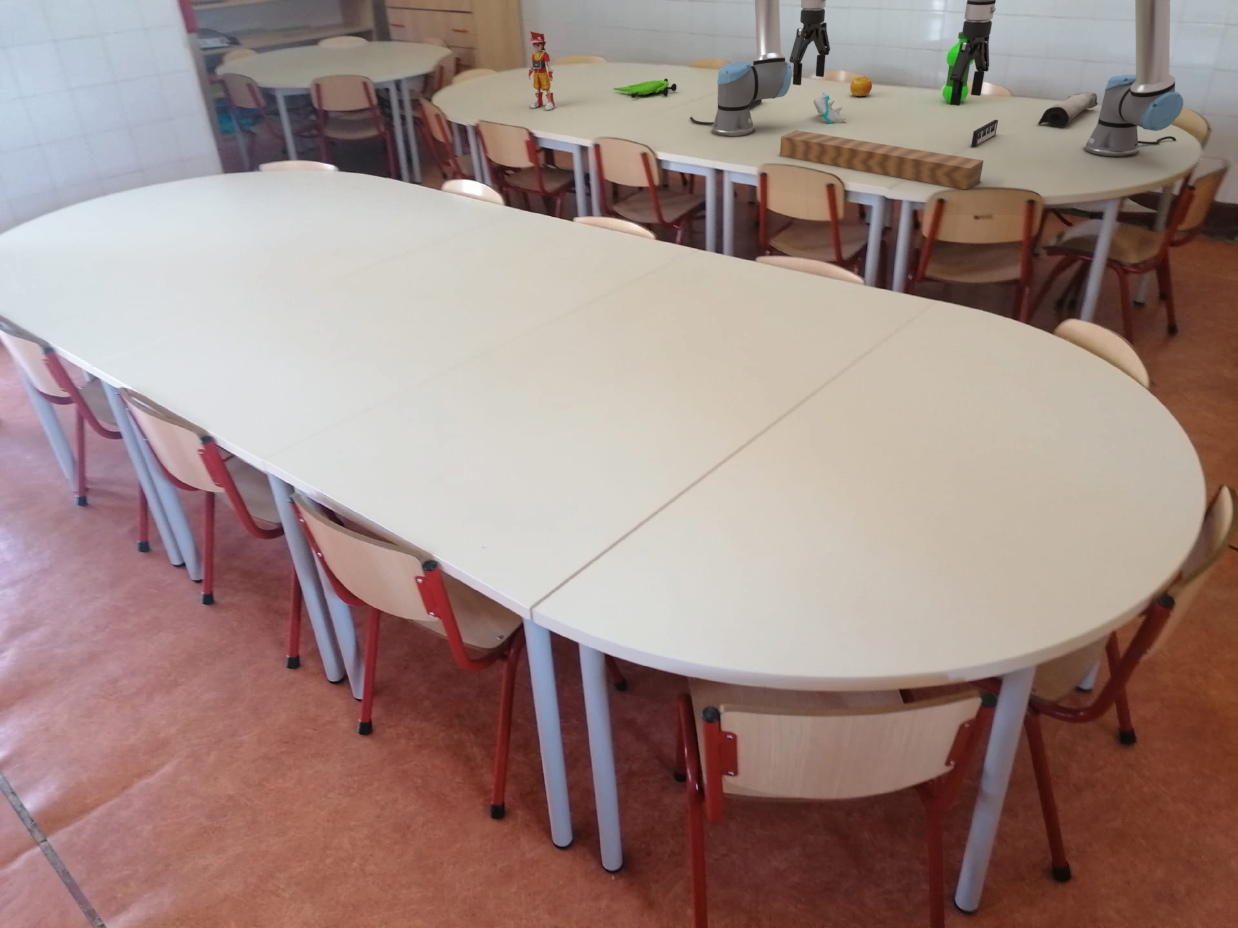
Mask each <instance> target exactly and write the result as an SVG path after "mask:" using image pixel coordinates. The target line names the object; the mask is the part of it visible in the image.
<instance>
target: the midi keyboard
mask: <svg viewBox="0 0 1238 928" xmlns="http://www.w3.org/2000/svg"><path fill="white" fill-rule="evenodd" d="M998 123H999V120H998V119H994V120H992V121H989V122H987V123H986V124H984V125H983V126H981V127H979V128H977V129H975V130H973V132H972V138H971V144H970V146H971V147H972V148H973V147H976V146H977V145H979V144H981V143H983V142H985V141H987V140H988V139H989V138H991V137H993V136H996V134H997V129H998Z"/></svg>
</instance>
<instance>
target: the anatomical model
mask: <svg viewBox="0 0 1238 928" xmlns="http://www.w3.org/2000/svg"><path fill="white" fill-rule="evenodd" d="M829 100H831V98H830V95H828V94H827V93H826V92H822V94H821V95H820V97H817V98H814V99H813V105H814V106H815V109H816V111H817V113H818V114H819V115H822V116H823V118H824V119H825V122H827V123H828V124H832V123H834V122H845V121H846V120H847V117H846V116H842V115H840V113H841V111H842V110H843V107H842V106H839V107H837V108H833V107H832V106H833V105H834V104H835V100H831V101H829Z"/></svg>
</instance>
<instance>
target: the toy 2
mask: <svg viewBox="0 0 1238 928" xmlns="http://www.w3.org/2000/svg"><path fill="white" fill-rule="evenodd" d="M669 85H670V83H669V79H668V78H664V79H663V80H649V81H644V82H640V83H634V84H629V85H627V86H621V87H613V88H612V89H613V90H616V91H619V92H623V93H627V94H628V93H629V94H631V95H630V96H631V98H632V99H634V98H636V96H637V95H650V94H652V93H654V94H658V93H662V95H663V96H665V97H667V96H668V95H669V90H671V91H672V92H676V91H677V84H676V83H672V84H671V86H669Z"/></svg>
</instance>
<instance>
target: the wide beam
mask: <svg viewBox="0 0 1238 928" xmlns="http://www.w3.org/2000/svg"><path fill="white" fill-rule="evenodd" d="M779 147H780V150H779V157H780V156H781V157H785V158H791V159H796V160H803V161H807V162H813V163H819V164H823V165H830V166H834V167H840V168H845V169H851V170H855V171H856V170H857V171H861V172H866V173H872V174H873V173H874V174H877V175H879V174H880V175H883V176H890V177H895V178H900V179H906V180H911V181H912V180H913V181H917V182H921V183H922V182H923V183H928V184H933V185H939V186H944V187H950V188H955V189H961V190H965V189H967V190H969V189H970V188H972V187H974V186H975V185H978V183H980V182H981V179H982V173H983V167H984V162H985V161H984V160H983V159H977V158H971V157H964V156H958V155H952V154H945V153H939V152H933V151H926V150H921V149H916V148H915V149H914V148H909V147H903V146H897V145H891V144H884V143H878V142H872V141H865V140H859V139H854V138H847V137H840V136H834V135H828V134H823V133H816V132H811V131H804V130H798V129H795V130H794V131H791V132H789V133H786V134H784V135H781V136H780V146H779Z"/></svg>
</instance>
